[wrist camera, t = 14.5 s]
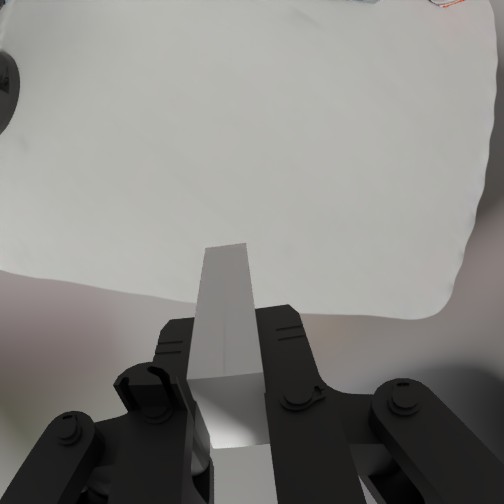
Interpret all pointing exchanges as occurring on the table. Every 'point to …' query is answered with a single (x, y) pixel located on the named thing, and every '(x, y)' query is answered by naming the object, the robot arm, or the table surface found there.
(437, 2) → the soda can
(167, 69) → the table surface
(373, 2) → the medicine box
